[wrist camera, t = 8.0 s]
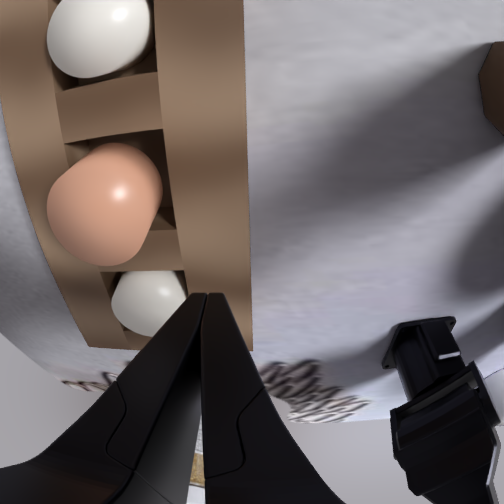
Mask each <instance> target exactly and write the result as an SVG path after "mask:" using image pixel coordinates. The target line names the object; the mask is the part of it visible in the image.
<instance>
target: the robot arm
mask: <svg viewBox="0 0 504 504" xmlns="http://www.w3.org/2000/svg"><path fill="white" fill-rule="evenodd" d="M455 323H456V319H455V317H447V318H440V319H433V320H426V321H418V322H410V323H403V324H401V325H399V326H398V328H397V330H396V333H395V335H394V337H393V340H392V342H391V344H390V347H389V349H388V351H387V353H386V356H385V358H384V360H383V362H382V368H383V369H390V368H397V370H398V373H399V376H400V379H401V382H402V385H403V388H404V391H405V394H406V397H407V400H408V402H407V403H405V404H403V405H402V406H400V407H398V408H394V409H392V410H390V416H391V418H390V422H391V433H392V444H393V453H394V459H395V460H397V461H398V462H399V465H400V466H401V468H402V469H403V470H404V471H405V472H406V477H407V482H408V488H409V489H410V490H411V491H412V492H413V493H414V494H415V495H416V496H420V495H422V496H424V497H425V498H426V499H428V500H429V501H430V502H432V503H433V504H499V502H498V498H497V494H496V491H495V487H494V483H493V479H494V475H495V471H496V466H497V462H498V457H499V453H500V449H501V443H500V440H499V437H498V434H497V431H496V429H495V426H496V425H498V424H500V423H501V420H500V417H499V414H498V411H497V409H496V406H495V403H494V401H493V398H492V395H491V393H490V391H489V389H488V386H487V384H486V382H485V380H484V378H483V376H482V374H481V372H480V371H479V369H478V367H477V366H476V364H475V362H474V361H472V362H471V363H469V365H468V366H465V364H464V362H463V359H462V357H461V355H460V354H461V351H460V349H459V347H458V345H457V343H456V341H455V339H454V337H453V335H452V333H451V331H452V329H453V327H454V325H455ZM476 386H478V388H477V389H473V388H475V387H476ZM200 419H201V420H202V446H203V467H204V479H205V481H204V484H205V504H346V503H344V502H343V501H342V500H341V499H340V498H339V497H338V496H337V495H336V494H335V493H334V492H333V491H332V490H331V489H330V488H329V487H328V486H327V484H326V483H325V482H324V481H323V479H322V478H321V477H320V476H319V474H318V473H317V471H316V470H315V469H314V467H313V466H312V465H311V463H310V462H309V460H308V459H307V457H306V456H305V455H304V453H303V452H302V450H301V449H300V447H299V446H298V445H297V443H296V442H295V440H294V439H293V437H292V436H291V434H290V433H289V431H288V430H287V428H286V426H285V425H284V423H283V421H282V420H281V418H280V416H279V414H278V412H277V411H276V408H275V406H274V404H273V403H272V401H271V398H270V396H269V394H268V392H267V390H266V389H265V386H264V383H263V381H262V379H261V377H260V375H259V372H258V370H257V368H256V366H255V363H254V361H253V359H252V357H251V354H250V352H249V350H248V348H247V345H246V343H245V341H244V338H243V336H242V334H241V332H240V329H239V327H238V325H237V322H236V320H235V318H234V315H233V313H232V311H231V308H230V306H229V303H228V301H227V299H226V296H225V294H224V293H222V292H210V293H209V294H207V293H206V292H193V293H191V294H190V295H189V296H188V297H187V298H186V300H185V301H184V302H183V303H182V304H181V305H180V306H179V307H178V309H177V310H176V311H175V312H174V313H173V314H172V315H171V316H170V318H169V319H168V320H167V321H166V322H165V323H164V324H163V326H162V327H161V328H160V329H159V330H158V331H157V332H156V333H155V335H154V336H153V337H152V338H151V339H150V340H149V341H148V343H147V344H146V345H145V346H144V347H143V348H142V349H141V351H140V352H139V353H138V354H137V355H136V356H135V358H134V359H133V360H132V361H131V362H130V363H129V364H128V366H127V367H126V368H125V369H124V370H123V371H122V372H121V374H120V375H119V376H118V377H117V378H116V381H114V382H113V383H112V384H111V385H110V386H109V387H108V389H107V390H106V391H105V392H104V393H103V394H102V395H101V396H100V397H99V399H98V400H97V401H96V402H95V403H94V404H93V405H92V406H91V407H90V408H89V409H88V410H87V411H86V412H85V413H84V414H83V415H82V416H81V417H80V418H79V419H78V420H77V421H76V422H75V423H74V424H73V425H71V426H70V427H69V428H68V429H67V430H66V431H65V432H64V433H63V434H62V435H61V436H60V437H58V438H57V439H56V440H55V441H54V442H53V443H52V444H51V445H50V446H49V447H48V448H46V449H45V450H44V451H43V452H42V453H40V454H39V455H38V456H36V457H34V458H32V459H31V460H28V461H26V462H23V463H20V464H17V465H12V466H8V467H4V468H0V504H186V503H187V497H188V490H189V484H190V478H191V472H192V466H193V460H194V454H195V448H196V442H197V436H198V430H199V424H200Z"/></svg>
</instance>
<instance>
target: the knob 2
mask: <svg viewBox="0 0 504 504" xmlns="http://www.w3.org/2000/svg"><path fill="white" fill-rule="evenodd" d="M188 296H189V294H188V289H187V284H186V278H185V273H184V270H172V271H123V274H122V276H121V278H120V280H119V283H118V285H117V288H116V290H115V292H114V295H113V297H112V301H111V305H112V310H113V312H114V314H115V316H116V318H117V319H118V320H119V321H120V322H121V323H122V324H123V325H124V326H125V327H127V328H128V329H130V330H132V331H134V332H136V333H138V334H141V335H145V336H150V337H153V336H154V335H155V333H156V332H157V331H158V330H159V329H160V328H161V327H162V326H163V324H164V323H165V322H166V321H167V320H168V319H169V318H170V316H171V315H172V314H173V313H174V312H175V311H176V310H177V309H178V307H179V306H180V305H181V304H182V303H183V302H184V301H185V300H186V298H187V297H188Z"/></svg>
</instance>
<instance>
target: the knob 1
mask: <svg viewBox="0 0 504 504" xmlns="http://www.w3.org/2000/svg"><path fill="white" fill-rule="evenodd" d="M155 44H156V39H155V20H154V1H153V0H62V1H61V2H60V3H59V5H58V6H57V7H56V9H55V11H54V13H53V15H52V17H51V19H50V22H49V26H48V30H47V46H48V51H49V54H50V56H51V59H52V60H53V62H54V63H55V65H56V66H57V67H58V68H59V69H60V70H62V71H63V72H65V73H66V74H68V75H71V76H74V77H78V78H91V77H96V76H100V75H104V74H108V73H112V72H117V71H121V70H125V69H128V68H130V67H132V66H134V65H136V64H138V63H139V62H140V61H142V60H143V59H144V58H145V57H146V56H147V55H148V54H149V53H150V52H151V50H152V49H153V47H154V46H155Z"/></svg>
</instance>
